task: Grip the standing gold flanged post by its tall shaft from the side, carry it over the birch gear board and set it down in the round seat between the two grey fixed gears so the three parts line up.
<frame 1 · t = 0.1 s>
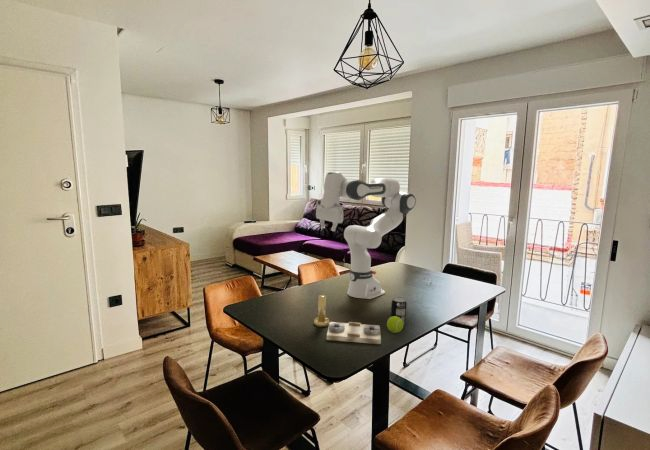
hand: (327, 229, 177), 39 cm above the table, tool pointing down, fingers open, 8 cm apart
gold flanged post: (321, 323, 155), on the table
gear board: (353, 334, 145), on the table
tennis ball: (394, 332, 149), on the table
beverage can: (397, 324, 157), on the table
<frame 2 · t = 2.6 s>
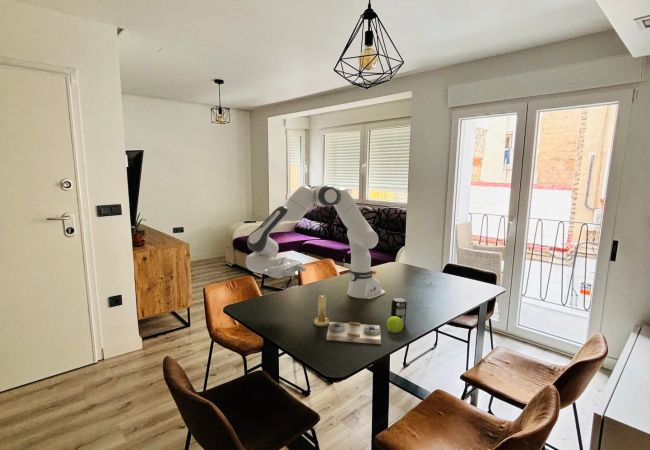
hand: (299, 271, 157), 22 cm above the table, tool horizontal, fingers open, 8 cm apart
nothing on the table moved.
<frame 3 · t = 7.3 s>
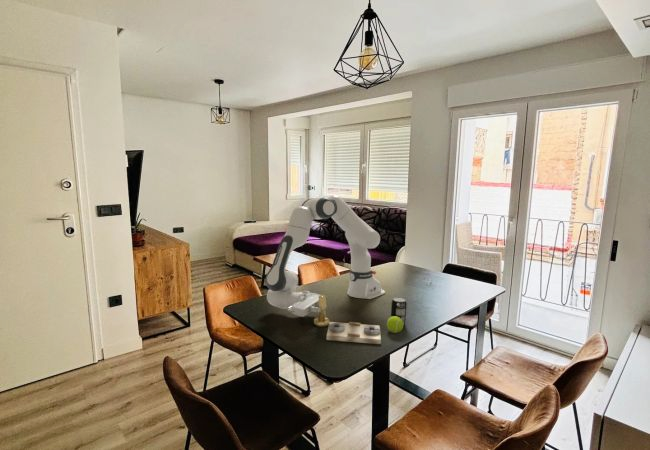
hand: (323, 308, 154), 8 cm above the table, tool horizontal, fingers closed on gold flanged post, 3 cm apart
gold flanged post: (321, 323, 155), on the table, touching gripper
everything else where it was.
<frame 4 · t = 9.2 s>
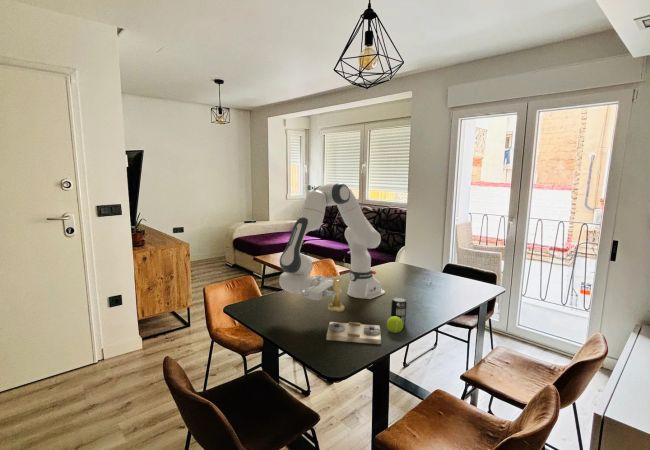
hand: (338, 292, 148), 17 cm above the table, tool horizontal, fingers closed on gold flanged post, 3 cm apart
gold flanged post: (336, 308, 149), point 9 cm above the table, touching gripper
everything else where it was.
when the fingers open (11 cm above the table, at t = 11.1 s): gold flanged post drops 2 cm, resting on gear board.
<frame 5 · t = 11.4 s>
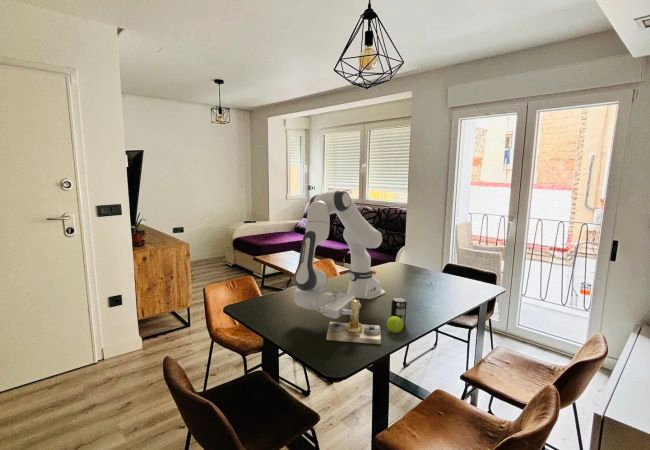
hand: (356, 309, 143), 11 cm above the table, tool horizontal, fingers open, 7 cm apart
gold flanged post: (354, 330, 145), point 2 cm above the table, touching gear board
everything else where it was.
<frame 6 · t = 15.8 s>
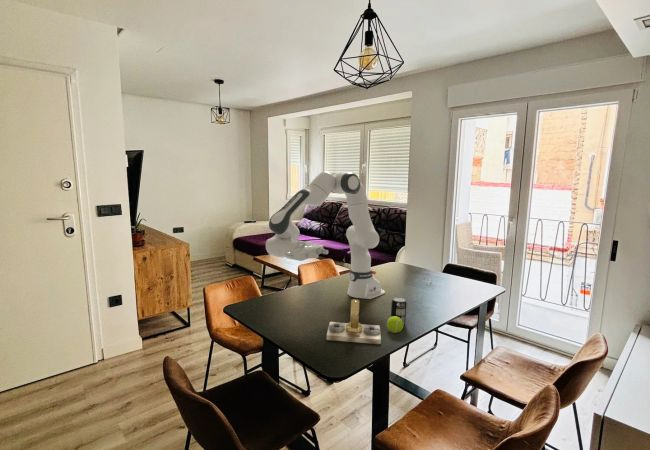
hand: (322, 254, 152), 32 cm above the table, tool horizontal, fingers open, 8 cm apart
nothing on the table moved.
at the end: gold flanged post 0.1 cm off-centre on the gear board, point 2.0 cm above the gear board's base; gold flanged post tilted 0°; the gripper is holding nothing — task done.
